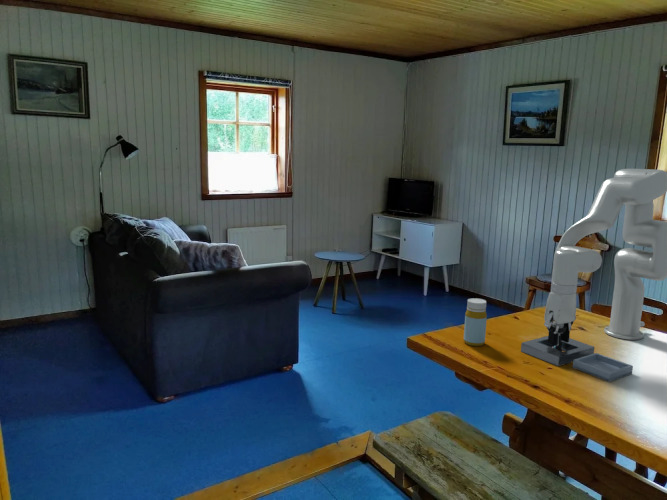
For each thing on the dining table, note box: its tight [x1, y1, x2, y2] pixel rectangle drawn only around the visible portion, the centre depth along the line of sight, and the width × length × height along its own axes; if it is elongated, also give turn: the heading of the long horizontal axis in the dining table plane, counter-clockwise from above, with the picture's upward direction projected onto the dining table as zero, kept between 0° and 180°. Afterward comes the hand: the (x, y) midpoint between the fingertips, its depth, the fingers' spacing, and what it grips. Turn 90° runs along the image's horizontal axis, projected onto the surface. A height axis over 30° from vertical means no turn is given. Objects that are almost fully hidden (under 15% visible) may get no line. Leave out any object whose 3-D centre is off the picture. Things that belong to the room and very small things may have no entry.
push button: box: [551, 321, 567, 352], centre depth 169 cm, size 7×5×10 cm
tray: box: [572, 352, 634, 383], centre depth 156 cm, size 12×12×2 cm
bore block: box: [520, 335, 595, 367], centre depth 169 cm, size 18×14×3 cm
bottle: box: [463, 297, 488, 347], centre depth 176 cm, size 7×7×15 cm
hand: (558, 342), depth 169 cm, fingers closed on push button, 5 cm apart
